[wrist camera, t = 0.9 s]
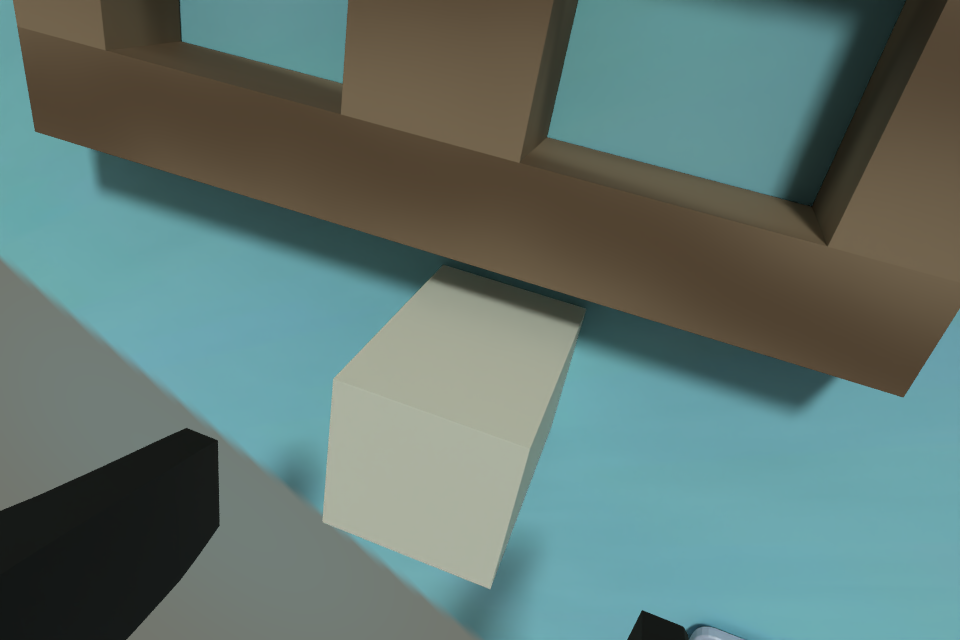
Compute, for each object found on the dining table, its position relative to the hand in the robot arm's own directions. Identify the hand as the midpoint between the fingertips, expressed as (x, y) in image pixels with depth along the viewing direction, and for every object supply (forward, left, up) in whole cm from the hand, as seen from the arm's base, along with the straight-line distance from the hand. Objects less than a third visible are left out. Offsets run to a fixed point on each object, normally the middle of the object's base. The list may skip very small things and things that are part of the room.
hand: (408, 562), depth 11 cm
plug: (-1, +1, -8) cm, 9 cm away
